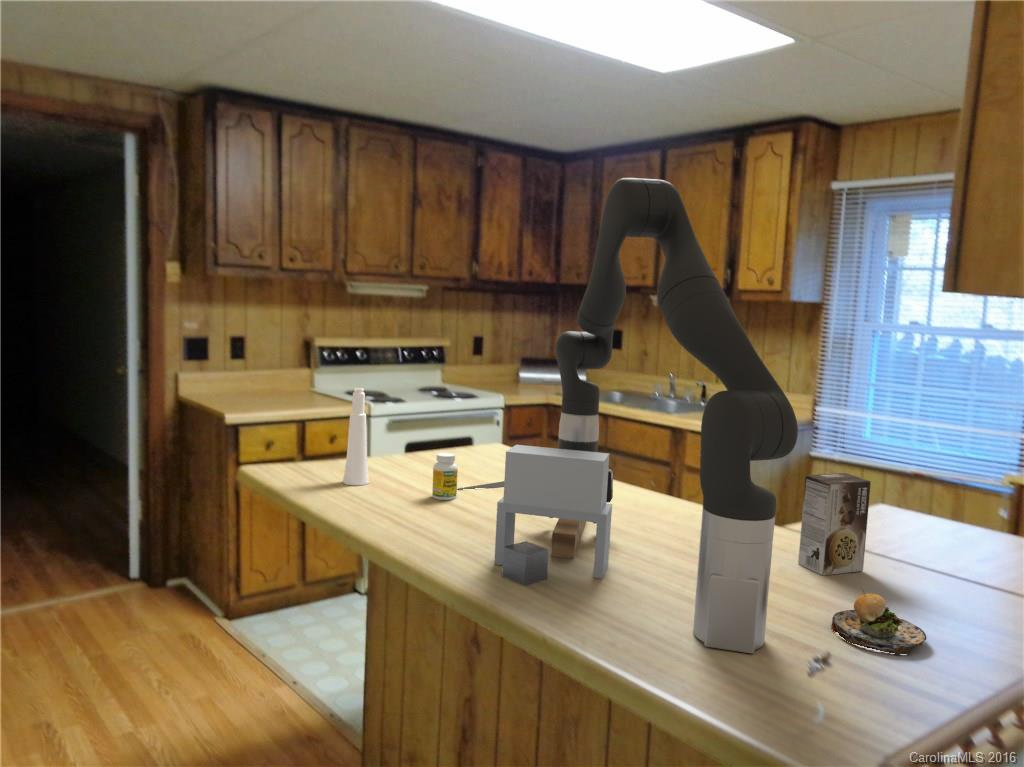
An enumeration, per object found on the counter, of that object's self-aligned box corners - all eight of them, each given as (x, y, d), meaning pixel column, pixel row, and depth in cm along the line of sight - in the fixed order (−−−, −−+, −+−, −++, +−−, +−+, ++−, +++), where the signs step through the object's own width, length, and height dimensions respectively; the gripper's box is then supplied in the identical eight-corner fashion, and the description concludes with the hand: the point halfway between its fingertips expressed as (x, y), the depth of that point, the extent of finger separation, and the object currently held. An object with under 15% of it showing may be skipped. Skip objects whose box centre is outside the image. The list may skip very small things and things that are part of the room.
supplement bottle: (446, 493, 174) (448, 451, 173) (461, 498, 170) (463, 455, 169) (427, 496, 170) (428, 453, 169) (442, 501, 166) (444, 457, 165)
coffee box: (836, 560, 140) (844, 472, 138) (864, 572, 134) (873, 480, 132) (795, 563, 136) (804, 473, 135) (822, 576, 130) (831, 482, 129)
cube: (524, 586, 119) (526, 555, 118) (502, 577, 122) (503, 546, 122) (546, 579, 122) (548, 549, 122) (524, 571, 126) (526, 541, 125)
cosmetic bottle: (346, 479, 182) (349, 386, 180) (371, 480, 182) (374, 387, 180) (339, 484, 176) (342, 389, 174) (365, 486, 176) (369, 390, 174)
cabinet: (602, 578, 124) (610, 461, 122) (494, 564, 128) (499, 451, 126) (608, 565, 130) (615, 454, 128) (505, 551, 135) (510, 444, 133)
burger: (924, 666, 98) (930, 609, 98) (825, 642, 104) (830, 589, 103) (926, 633, 109) (931, 582, 108) (836, 614, 115) (840, 565, 114)
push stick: (573, 560, 133) (575, 534, 133) (550, 557, 134) (552, 532, 133) (586, 523, 157) (587, 501, 156) (566, 521, 157) (567, 499, 157)
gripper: (537, 436, 145) (532, 520, 147) (613, 443, 142) (607, 529, 143) (545, 430, 152) (541, 511, 154) (618, 437, 149) (612, 519, 151)
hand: (573, 519), depth 149 cm, fingers open, 8 cm apart
